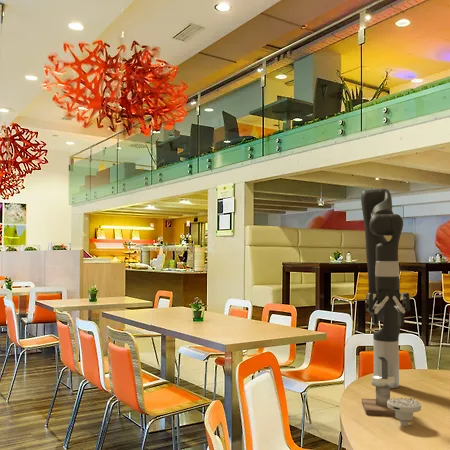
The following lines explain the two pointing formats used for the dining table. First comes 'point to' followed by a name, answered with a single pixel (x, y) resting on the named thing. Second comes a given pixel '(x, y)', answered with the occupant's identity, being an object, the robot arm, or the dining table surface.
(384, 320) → the robot arm
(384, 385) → the knob
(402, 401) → the showerhead
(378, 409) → the post base
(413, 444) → the dining table surface
